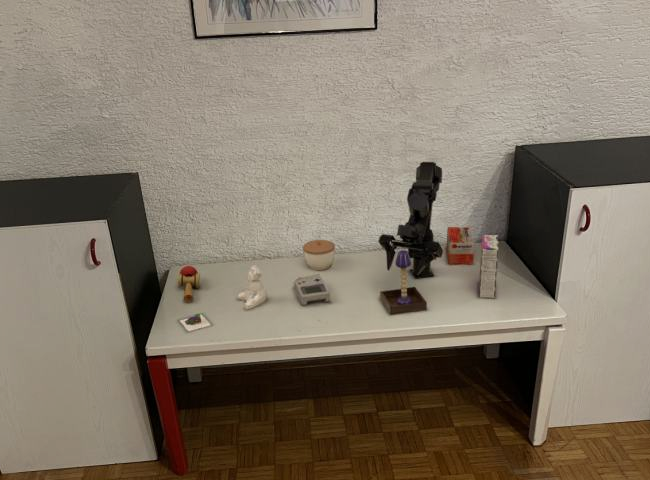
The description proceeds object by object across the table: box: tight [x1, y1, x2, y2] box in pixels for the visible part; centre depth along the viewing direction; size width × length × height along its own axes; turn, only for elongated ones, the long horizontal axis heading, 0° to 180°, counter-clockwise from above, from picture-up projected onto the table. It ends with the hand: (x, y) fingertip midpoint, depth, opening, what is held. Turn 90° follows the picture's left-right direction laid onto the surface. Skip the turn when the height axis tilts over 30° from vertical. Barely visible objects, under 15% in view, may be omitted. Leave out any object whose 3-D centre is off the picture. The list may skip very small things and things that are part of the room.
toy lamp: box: [395, 249, 412, 305], centre depth 206 cm, size 5×5×17 cm
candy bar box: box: [478, 234, 499, 299], centre depth 211 cm, size 11×5×16 cm, turn 168°
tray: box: [379, 286, 428, 316], centre depth 210 cm, size 11×11×3 cm
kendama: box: [177, 265, 201, 303], centre depth 225 cm, size 8×6×18 cm
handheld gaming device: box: [293, 273, 331, 306], centre depth 218 cm, size 9×15×4 cm, turn 12°
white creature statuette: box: [238, 264, 268, 310], centre depth 214 cm, size 10×9×12 cm
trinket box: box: [302, 239, 336, 271], centre depth 236 cm, size 11×11×9 cm
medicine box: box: [446, 226, 475, 265], centre depth 238 cm, size 15×8×8 cm, turn 174°
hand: (402, 272), depth 205 cm, fingers open, 9 cm apart
